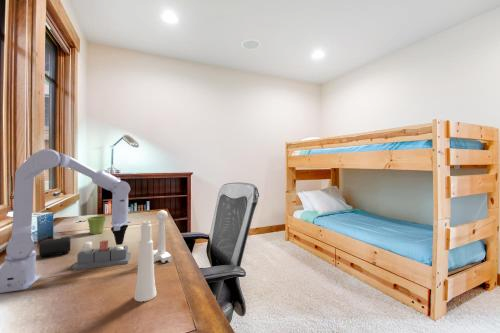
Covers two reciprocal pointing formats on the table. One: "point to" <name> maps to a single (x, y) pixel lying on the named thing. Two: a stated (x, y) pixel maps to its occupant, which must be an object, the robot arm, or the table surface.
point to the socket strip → (102, 258)
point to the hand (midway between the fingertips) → (119, 244)
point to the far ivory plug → (119, 248)
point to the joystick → (161, 239)
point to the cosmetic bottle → (145, 266)
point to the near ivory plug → (87, 247)
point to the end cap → (54, 246)
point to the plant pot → (96, 224)
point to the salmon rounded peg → (104, 245)
